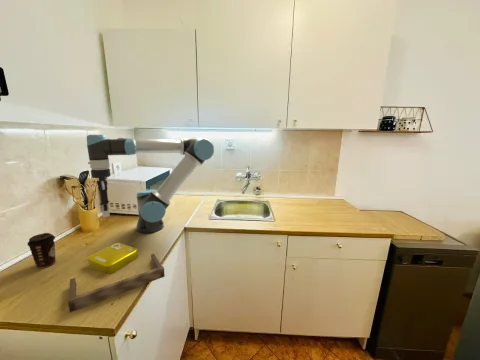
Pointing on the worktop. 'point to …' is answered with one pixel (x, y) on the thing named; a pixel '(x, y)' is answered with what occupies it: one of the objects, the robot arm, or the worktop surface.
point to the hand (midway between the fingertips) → (106, 216)
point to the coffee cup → (43, 249)
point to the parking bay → (113, 287)
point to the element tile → (112, 258)
